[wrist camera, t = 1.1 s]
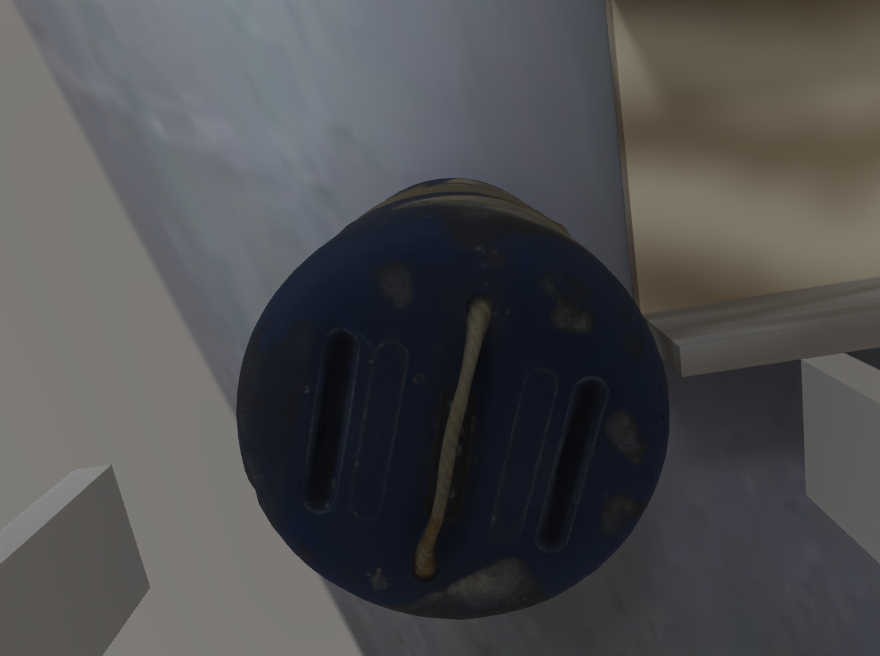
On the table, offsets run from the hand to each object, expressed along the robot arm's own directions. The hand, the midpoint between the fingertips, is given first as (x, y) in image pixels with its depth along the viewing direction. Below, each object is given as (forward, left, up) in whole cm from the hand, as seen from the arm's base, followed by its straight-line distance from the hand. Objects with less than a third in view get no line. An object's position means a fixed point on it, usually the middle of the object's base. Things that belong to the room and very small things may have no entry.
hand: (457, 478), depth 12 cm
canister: (0, 0, -18) cm, 18 cm away
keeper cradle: (-4, +15, -18) cm, 24 cm away
